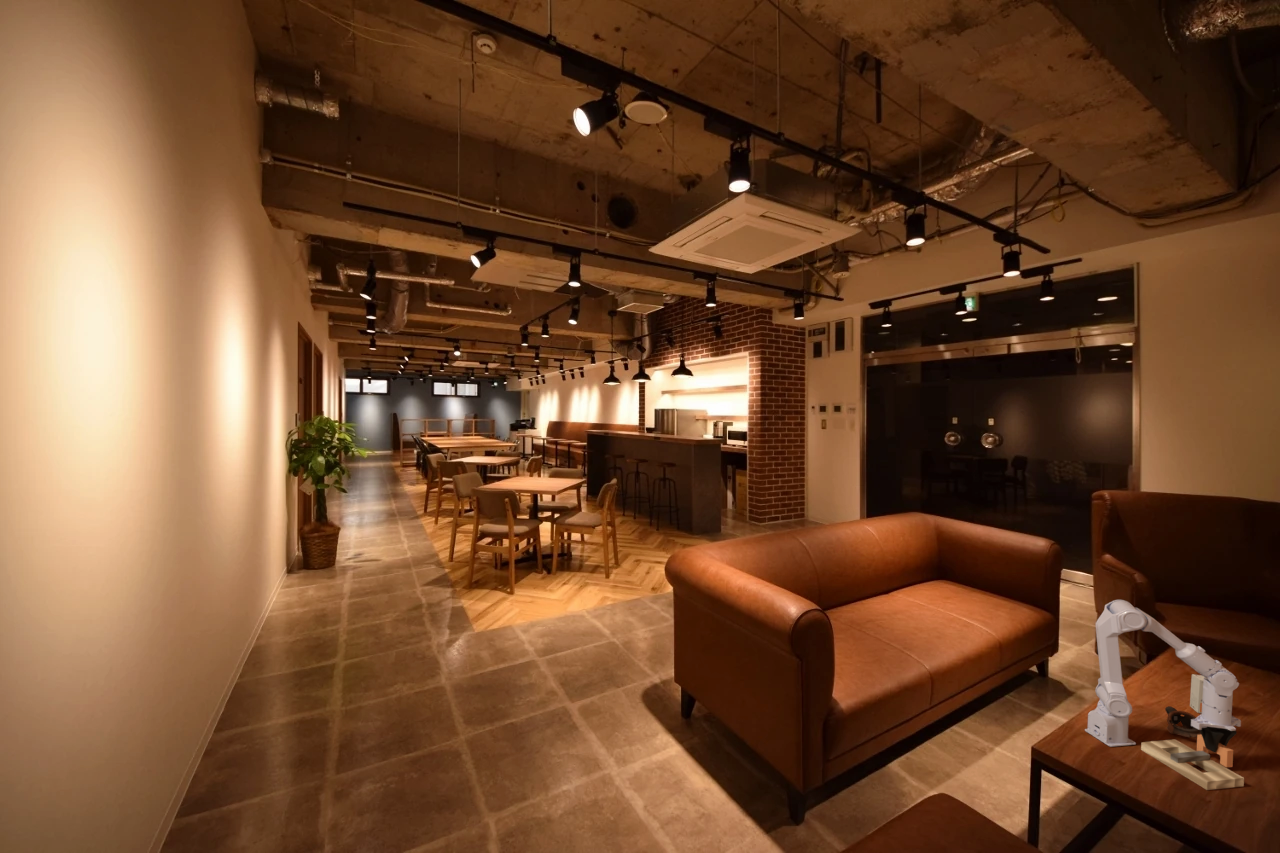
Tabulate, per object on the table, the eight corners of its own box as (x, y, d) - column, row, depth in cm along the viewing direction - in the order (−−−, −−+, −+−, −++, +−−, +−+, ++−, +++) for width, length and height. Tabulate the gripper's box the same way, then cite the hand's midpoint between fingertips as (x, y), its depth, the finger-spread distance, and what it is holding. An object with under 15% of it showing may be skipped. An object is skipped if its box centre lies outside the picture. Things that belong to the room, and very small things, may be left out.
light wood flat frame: (1206, 790, 134) (1207, 776, 134) (1141, 749, 150) (1141, 737, 150) (1243, 786, 136) (1244, 772, 136) (1174, 746, 152) (1175, 734, 152)
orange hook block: (1226, 767, 142) (1227, 750, 141) (1196, 750, 149) (1197, 734, 148) (1232, 766, 142) (1233, 750, 142) (1202, 750, 149) (1202, 734, 149)
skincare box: (1197, 713, 168) (1199, 679, 168) (1189, 706, 172) (1190, 673, 172) (1221, 717, 166) (1223, 683, 166) (1212, 710, 170) (1214, 677, 170)
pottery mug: (1219, 746, 153) (1214, 727, 151) (1187, 755, 155) (1182, 737, 153) (1181, 713, 164) (1176, 695, 162) (1151, 722, 166) (1145, 705, 164)
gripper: (1213, 715, 140) (1210, 761, 140) (1255, 712, 141) (1253, 757, 142) (1183, 700, 147) (1181, 744, 147) (1224, 697, 148) (1221, 740, 149)
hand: (1214, 749), depth 145 cm, fingers closed on orange hook block, 2 cm apart
